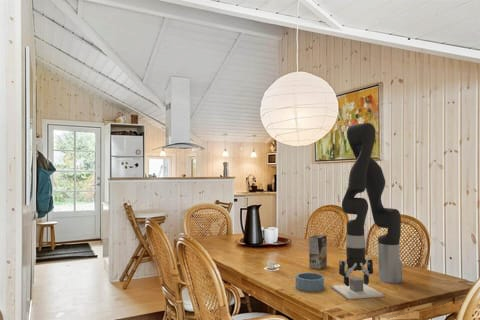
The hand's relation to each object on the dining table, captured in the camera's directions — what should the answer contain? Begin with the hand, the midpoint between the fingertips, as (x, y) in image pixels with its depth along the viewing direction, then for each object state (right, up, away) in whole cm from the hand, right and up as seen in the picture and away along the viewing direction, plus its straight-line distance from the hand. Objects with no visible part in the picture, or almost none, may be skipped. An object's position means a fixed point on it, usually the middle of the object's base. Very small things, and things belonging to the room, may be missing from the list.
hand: (356, 285), depth 155 cm
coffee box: (-7, -5, +43) cm, 44 cm away
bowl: (-18, -4, +7) cm, 20 cm away
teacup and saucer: (-29, -6, +39) cm, 49 cm away
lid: (0, -3, 0) cm, 3 cm away
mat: (0, -3, 0) cm, 3 cm away
